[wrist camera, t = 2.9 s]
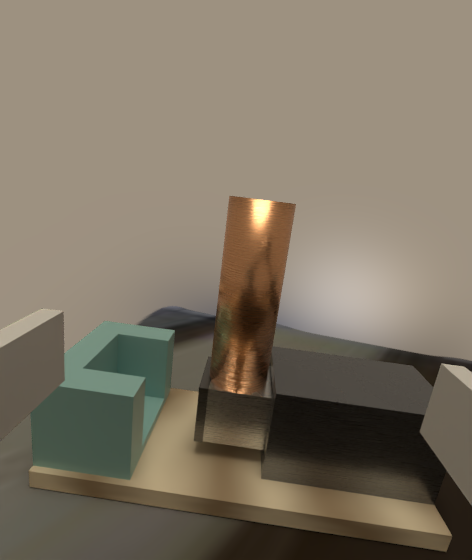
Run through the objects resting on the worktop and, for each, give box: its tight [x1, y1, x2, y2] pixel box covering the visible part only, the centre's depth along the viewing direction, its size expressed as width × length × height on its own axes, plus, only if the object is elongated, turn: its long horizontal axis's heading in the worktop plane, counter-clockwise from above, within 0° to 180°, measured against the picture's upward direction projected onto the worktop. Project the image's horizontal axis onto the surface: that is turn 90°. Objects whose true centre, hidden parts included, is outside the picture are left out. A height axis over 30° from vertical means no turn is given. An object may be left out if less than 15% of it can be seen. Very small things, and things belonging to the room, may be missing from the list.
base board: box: [29, 388, 452, 552], centre depth 23 cm, size 25×10×1 cm, turn 86°
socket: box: [31, 321, 175, 480], centre depth 23 cm, size 6×9×6 cm, turn 176°
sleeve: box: [261, 347, 446, 505], centre depth 22 cm, size 11×6×6 cm, turn 86°
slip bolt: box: [194, 196, 296, 450], centre depth 21 cm, size 15×4×16 cm, turn 86°
